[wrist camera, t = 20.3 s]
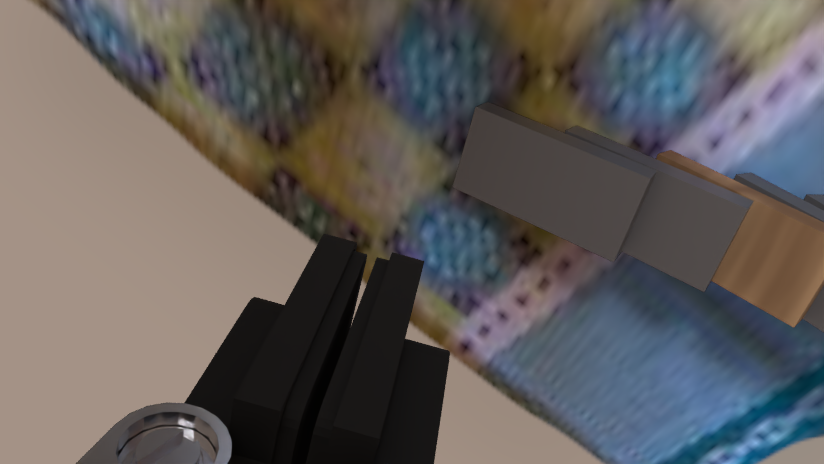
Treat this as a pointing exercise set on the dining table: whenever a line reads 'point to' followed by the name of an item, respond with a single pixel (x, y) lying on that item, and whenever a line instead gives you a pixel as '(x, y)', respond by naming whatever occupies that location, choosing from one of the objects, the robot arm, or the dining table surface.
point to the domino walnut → (767, 250)
